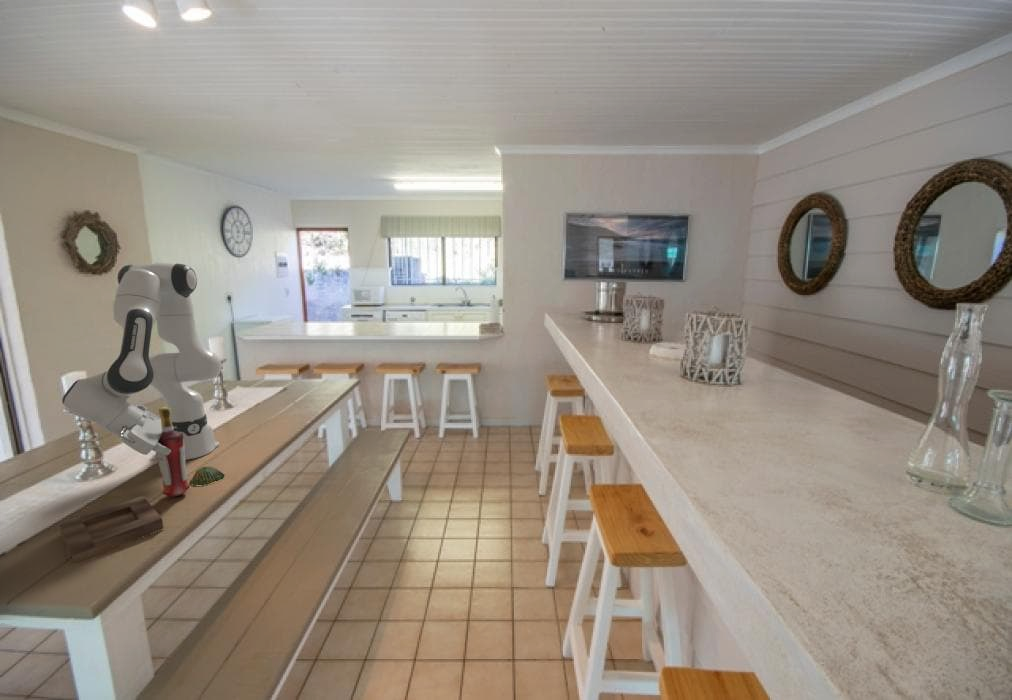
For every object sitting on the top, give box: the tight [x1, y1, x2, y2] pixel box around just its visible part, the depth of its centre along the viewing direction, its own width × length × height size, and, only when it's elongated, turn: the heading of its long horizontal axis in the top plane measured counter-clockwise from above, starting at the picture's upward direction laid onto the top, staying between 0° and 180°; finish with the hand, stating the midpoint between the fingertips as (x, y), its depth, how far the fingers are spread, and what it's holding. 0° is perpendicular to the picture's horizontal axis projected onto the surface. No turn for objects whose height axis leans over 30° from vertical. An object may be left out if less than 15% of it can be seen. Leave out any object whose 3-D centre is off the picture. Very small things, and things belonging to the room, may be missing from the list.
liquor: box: [155, 406, 190, 498], centre depth 137 cm, size 7×7×28 cm
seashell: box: [189, 466, 226, 486], centre depth 151 cm, size 10×4×10 cm
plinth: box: [59, 495, 164, 564], centre depth 121 cm, size 18×18×4 cm
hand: (172, 446), depth 137 cm, fingers closed on liquor, 7 cm apart
